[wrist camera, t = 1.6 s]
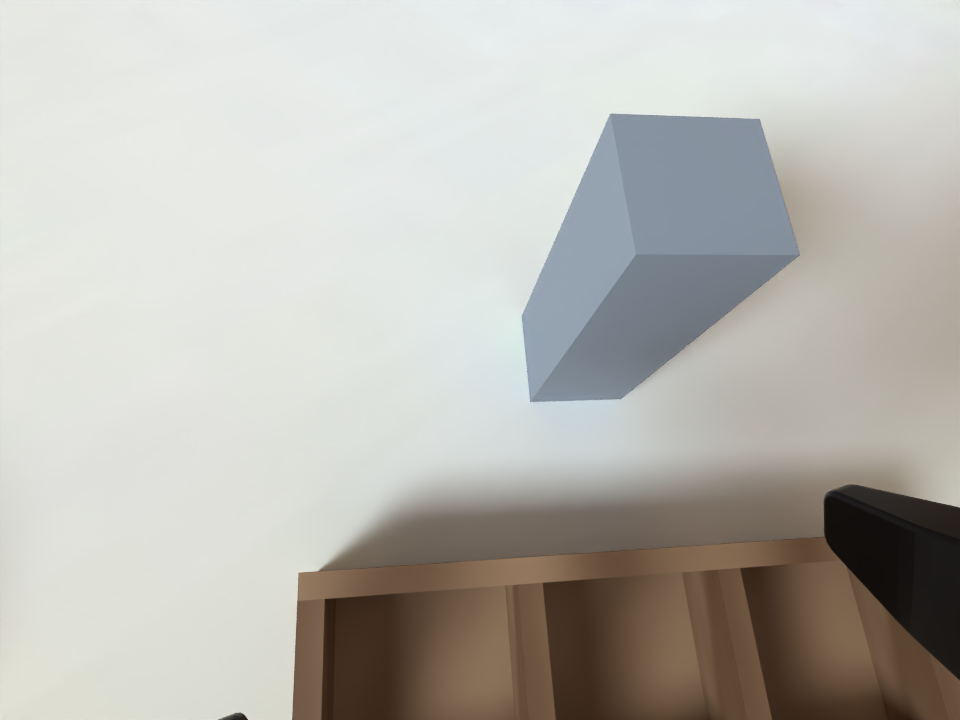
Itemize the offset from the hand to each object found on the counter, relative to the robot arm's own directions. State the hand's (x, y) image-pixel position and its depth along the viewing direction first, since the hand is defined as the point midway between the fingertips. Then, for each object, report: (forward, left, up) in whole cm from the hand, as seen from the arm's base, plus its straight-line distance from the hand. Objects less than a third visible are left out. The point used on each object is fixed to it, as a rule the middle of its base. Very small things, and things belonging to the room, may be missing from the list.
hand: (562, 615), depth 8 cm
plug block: (-5, -9, -14) cm, 17 cm away
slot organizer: (-5, +3, -14) cm, 15 cm away
